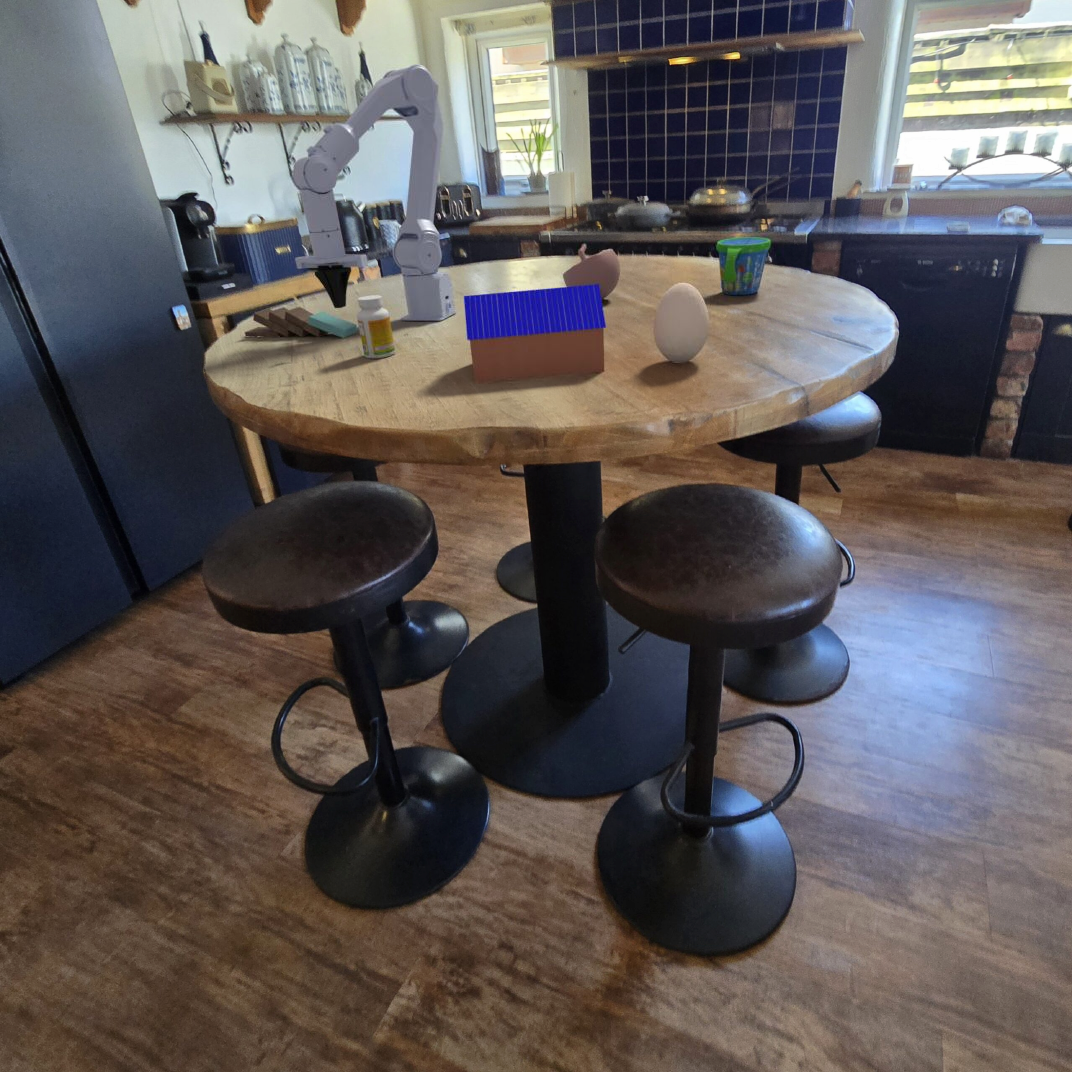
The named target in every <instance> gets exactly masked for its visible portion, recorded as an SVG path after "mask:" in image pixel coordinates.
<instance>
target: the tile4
mask: <svg viewBox="0 0 1072 1072" xmlns="http://www.w3.org/2000/svg"><path fill="white" fill-rule="evenodd" d="M270 311H273V309H271V308H264V309H261V310H259V311H254V312H253V321H255V322H256V323H258V324H260V325H262V326H263V327H268V328H270V329H272V330H274V331H276V332H278V333H280V334H282V335H283V336H284V337H286V338H288V336H289V337H291V336H293V334H294V335H296V334H295V333H293V332H292V331H290V330H288V329H286V328H284V327H282V326H280V325H279V324H277V323H275V322H273V321H271V320H269V312H270ZM290 335H291V336H290Z"/></svg>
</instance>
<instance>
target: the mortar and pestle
mask: <svg viewBox="0 0 1072 1072" xmlns="http://www.w3.org/2000/svg"><path fill="white" fill-rule="evenodd" d="M586 250H587V244H586V243H583V244H581V247H580V248H579V249H578V251H577V253H578V256H579V259H580V262H578V263H576V264H574V265H573V266H571V267H570V268H569V269H567V270H566V271H564V272H563V273H562V278H563V282H564V284H565V287H572V286H583V285H595V284H599V289H600V294H601V300H603V299H605V298H607V297H608V296H609V295H611V293H613V291H614V290H615V289H616V287H617V285H618V283H619V280H620V275H621V265H620V261H619V258H618V255H617V254H616V252H615V251H614V250H613V248H608V249H603V250H601V251H600V252H599V253H595V254H593V255H591V256H588V257H586V254H585V251H586Z"/></svg>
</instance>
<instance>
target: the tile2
mask: <svg viewBox="0 0 1072 1072" xmlns="http://www.w3.org/2000/svg"><path fill="white" fill-rule="evenodd" d="M314 314H315V313H312V312H310V311H309V310H306V309H304V308H303V307H301V306H298V307H295V308H291V309H288V311H286V312H285V319H286V320H288V321H290V322H291V323H293V324H295V325H297V326H299V327H300V328H302V329H304V330H306V331H308V332H310V333H311V334H312V335H314V336H315V337H317V338H320V337H322V336H324V335H328V334H330V333H329V332H327V331H324V330H321V329H319V328H316V327H314V326H311V325H309V324H308V321H309V316H311V315H314ZM311 334H310V335H311Z"/></svg>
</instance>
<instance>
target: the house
mask: <svg viewBox="0 0 1072 1072" xmlns="http://www.w3.org/2000/svg"><path fill="white" fill-rule="evenodd" d="M602 300H603V299H601V294H600V289H599V284H595V285H583V286H572V287H567V286H563V287H551V288H550V287H549V288H540V289H539V288H538V289H528V290H518V291H517V290H516V291H507V292H505V291H504V292H495V293H485V294H484V293H483V294H473V295H472V294H471V295H463V304H464V316H465V327H466V339H467V341H469V347H470V355H471V363H472V370H473V379H474V383H475V384H477V383H476V382H482V383H490V382H489V381H493V382H499V381H498V380H504V381H510V380H509V379H515V380H525V379H524V378H526V379H534V378H535V379H536V378H545V377H558V376H566V375H567V376H568V375H579V374H590V373H591V374H593V373H601V372H605V341H604V339H605V335H604V333H605V332H604V331H605V330H604V329H606V328H607V327H606V326H607V325H606V320H605V313H604V307H603V301H602Z"/></svg>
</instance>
